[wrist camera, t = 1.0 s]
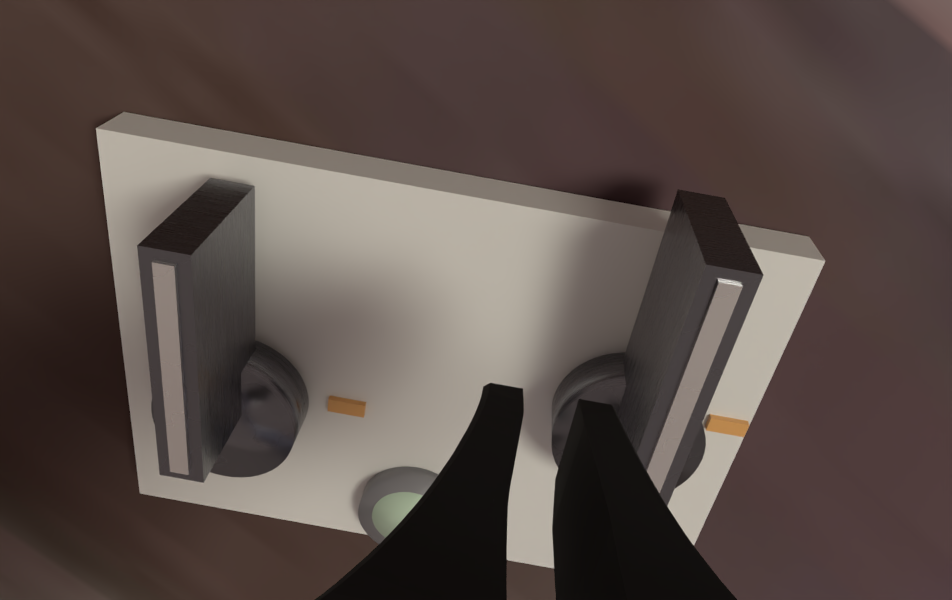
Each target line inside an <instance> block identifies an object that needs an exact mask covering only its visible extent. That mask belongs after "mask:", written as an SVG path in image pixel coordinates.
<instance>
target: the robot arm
mask: <svg viewBox="0 0 952 600" xmlns="http://www.w3.org/2000/svg"><path fill="white" fill-rule="evenodd" d="M523 415H524V398H523V388H517V387H512V386H506V385H501V384H495V383H489V384H487V385H485V386H483V390H482V395H481V399H480V402H479V405H478V407H477V410H476V412H475V414H474V416H473V418H472V420H471V422H470V424H469V427H468V428H467V430H466V432H465V434H464V435H463V437H462V439H461V441H460V442H459V444H458V446H457V447H456V449H455V451H454V453H453V454H452V456H451V457H450V459H449V460H448V462H447V463H446V465H445V466H444V467H443V469H442V470H441V472H440V473H439V475H438V476H437V477H436V479H435V480H434V482H433V483H432V485H431V486H430V487H429V488H428V490H427V491H426V492H425V494H424V495H423V496H422V497H421V499H420V500H419V501H418V502H417V504H416V505H415V506H414V507H413V508H412V509H411V511H410V512H409V513H408V514H407V515H406V516H405V518H404V519H403V520H402V521H401V522H400V523H399V524H398V525H397V526H396V527H395V528H394V529H393V531H392V532H391V533H390V534H389V535H388V536H387V537H386V538H385V539H384V540H383V541H382V542H381V543H380V544H379V545H378V546H377V547H376V548H375V549H374V550H373V551H372V552H371V553H370V554H369V555H368V556H367V557H365V558H364V559H363V560H362V561H361V562H360V563H359V564H357V565H356V566H355V567H354V568H353V569H352V570H351V571H349V572H348V573H347V574H346V575H345V576H344V577H343V578H342V579H340V580H339V581H338V582H337V583H336V584H335V585H333V586H332V587H331V588H330V589H328V590H327V591H326V592H325V593H323V594H322V595H321V596H319V597H318V598H316V599H315V600H507V598H506V564H507V516H508V500H509V492H510V485H511V480H512V475H513V469H514V464H515V458H516V453H517V448H518V442H519V437H520V431H521V426H522V421H523ZM552 536H553V555H554V572H555V589H556V600H737V599H736V598H735V597H734V596H733V594H732V593H731V592H730V591H729V590H728V589H727V587H726V586H725V585H724V584H723V583H722V582H721V580H720V579H719V578H718V577H717V575H716V574H715V573H714V572H713V570H712V569H711V568H710V567H709V565H708V564H707V563H706V561H705V560H704V559H703V558H702V556H701V555H700V554H699V552H698V551H697V550H696V548H695V547H694V545H693V544H692V543H691V541H690V540H689V538H688V537H687V536H686V534H685V533H684V531H683V530H682V528H681V527H680V525H679V524H678V522H677V521H676V519H675V518H674V516H673V514H672V513H671V511H670V510H669V508H668V507H667V505H666V503H665V502H664V500H663V499H662V497H661V495H660V493H659V492H658V490H657V488H656V487H655V485H654V483H653V481H652V480H651V478H650V476H649V475H648V473H647V471H646V469H645V467H644V466H643V464H642V462H641V460H640V458H639V456H638V454H637V452H636V451H635V449H634V447H633V445H632V443H631V441H630V439H629V437H628V435H627V433H626V431H625V429H624V427H623V425H622V423H621V421H620V418H619V416H618V414H617V412H616V410H615V409H614V407H613V406H612V405H611V404H605V403H600V402H594V401H589V400H583V399H579V400H578V403H577V407H576V410H575V413H574V417H573V420H572V424H571V427H570V430H569V434H568V437H567V441H566V444H565V447H564V451H563V454H562V458H561V461H560V464H559V468H558V471H557V475H556V478H555V490H554V505H553V523H552Z"/></svg>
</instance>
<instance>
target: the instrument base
mask: <svg viewBox="0 0 952 600" xmlns="http://www.w3.org/2000/svg"><path fill="white" fill-rule="evenodd" d="M96 133H97V142H98V150H99V158H100V167H101V175H102V183H103V191H104V200H105V208H106V216H107V225H108V233H109V241H110V250H111V258H112V266H113V275H114V283H115V291H116V299H117V308H118V316H119V324H120V333H121V341H122V349H123V358H124V366H125V374H126V383H127V391H128V399H129V408H130V416H131V424H132V432H133V441H134V449H135V457H136V466H137V474H138V482H139V491H140V494H146V495H151V496H157V497H162V498H168V499H173V500H179V501H184V502H190V503H195V504H201V505H206V506H212V507H218V508H223V509H229V510H234V511H240V512H245V513H251V514H256V515H262V516H267V517H273V518H278V519H284V520H289V521H295V522H300V523H306V524H311V525H317V526H322V527H328V528H333V529H339V530H344V531H350V532H356V533H361V534H367V535H369V537H370V538H372V539H373V540H374V541H375V542H377V543H378V544H380V543H381V542H382V541H383V540H384V539H385V538H386V537H387V536H388V535H389V534H390V533H391V532H392V531H393V529H394V528H395V527H396V526H397V525H398V524H399V523H400V522H401V521H402V520H403V519H404V518H405V516H406V515H407V514H408V513H409V512H410V511H411V509H412V508H413V507H414V506H415V505H416V504H417V502H418V501H419V500H420V499H421V497H422V496H423V495H424V494H425V492H426V491H427V490H428V488H429V487H430V486H431V485H432V483H433V482H434V480H435V479H436V477H437V476H438V475H439V473H440V472H441V470H442V469H443V467H444V466H445V465H446V463H447V462H448V460H449V459H450V457H451V456H452V454H453V453H454V451H455V449H456V447H457V446H458V444H459V442H460V441H461V439H462V437H463V435H464V434H465V432H466V430H467V428H468V427H469V424H470V422H471V420H472V418H473V416H474V414H475V412H476V410H477V407H478V405H479V402H480V399H481V395H482V390H483V386H485V385H487V384H489V383H495V384H501V385H506V386H512V387H517V388H523V398H524V415H523V421H522V426H521V431H520V437H519V442H518V448H517V453H516V458H515V464H514V469H513V475H512V480H511V485H510V492H509V500H508V516H507V560H510V561H516V562H521V563H527V564H532V565H538V566H543V567H549V568H554V555H553V536H552V523H553V505H554V490H555V478H556V475H557V471H558V467H557V465H556V463H555V460H554V457H553V454H552V402H553V397H554V395H555V392H556V390H557V388H558V386H559V384H560V383H561V382H562V380H563V379H564V378H565V377H566V376H567V375H568V374H569V373H570V372H571V371H572V370H573V369H575V368H576V367H577V366H579V365H581V364H582V363H584V362H586V361H588V360H591V359H593V358H596V357H599V356H602V355H607V354H612V353H622V352H626V349H627V346H628V343H629V340H630V337H631V333H632V330H633V327H634V324H635V321H636V318H637V315H638V312H639V309H640V306H641V302H642V299H643V296H644V293H645V290H646V287H647V284H648V281H649V278H650V275H651V272H652V268H653V265H654V262H655V259H656V256H657V253H658V250H659V247H660V244H661V241H662V237H663V234H664V231H665V228H666V225H667V222H668V219H669V216H670V213H671V211H665V210H660V209H654V208H649V207H643V206H638V205H632V204H627V203H621V202H616V201H610V200H605V199H599V198H594V197H588V196H583V195H577V194H572V193H566V192H561V191H555V190H550V189H544V188H539V187H533V186H528V185H522V184H517V183H511V182H506V181H500V180H495V179H489V178H484V177H478V176H473V175H467V174H462V173H456V172H451V171H445V170H440V169H434V168H429V167H423V166H418V165H412V164H407V163H401V162H396V161H390V160H385V159H379V158H374V157H368V156H363V155H357V154H352V153H346V152H341V151H335V150H330V149H324V148H319V147H313V146H308V145H302V144H297V143H292V142H286V141H281V140H275V139H270V138H264V137H259V136H253V135H248V134H242V133H237V132H231V131H226V130H220V129H215V128H209V127H204V126H198V125H193V124H187V123H182V122H176V121H171V120H165V119H160V118H154V117H149V116H143V115H138V114H132V113H127V112H123V113H121V114H119V115H118V116H116V117H114V118H113V119H111V120H109V121H108V122H106V123H104V124H102V125H101V126H99V127H97V128H96ZM209 178H215V179H220V180H226V181H231V182H237V183H242V184H248V185H253V186H255V340H256V341H259V342H261V343H263V344H265V345H268V346H269V347H271V348H273V349H274V350H276V351H277V352H279V353H280V354H282V355H283V356H284V357H285V358H286V359H287V360H289V361H290V362H291V364H292V365H293V366H294V367H295V368H296V369H297V371H298V372H299V374H300V375H301V377H302V379H303V381H304V383H305V386H306V388H307V392H308V398H309V406H308V412H307V415H306V418H305V420H304V422H303V424H302V427H301V429H300V431H299V433H298V436H297V438H296V440H295V442H294V444H293V447H292V449H291V451H290V453H289V455H288V457H287V458H286V459H285V460H284V462H283V463H281V464H280V465H279V466H278V467H277V468H275V469H273V470H272V471H269V472H267V473H265V474H262V475H258V476H253V477H228V476H222V475H218V474H214V473H211V472H210V473H209V474H208V476H207V478H206V480H205V481H204V483H202V482H196V481H191V480H185V479H180V478H174V477H169V476H163V475H160V473H159V463H158V453H157V443H156V433H155V424H154V421H153V418H152V413H151V402H152V392H151V382H150V372H149V362H148V352H147V341H146V331H145V321H144V311H143V301H142V291H141V281H140V270H139V260H138V250H137V245H138V244H139V243H140V242H141V241H142V240H144V239H145V238H146V237H147V236H148V235H149V234H150V233H151V232H152V231H153V230H154V229H155V228H156V227H158V226H159V225H160V224H161V223H162V222H163V221H164V220H165V219H166V218H167V217H168V216H169V215H171V214H172V213H173V212H174V211H175V210H176V209H177V208H178V207H179V206H180V205H181V204H182V203H184V202H185V201H186V200H187V199H188V198H189V197H190V196H191V195H192V194H193V193H194V192H195V191H197V190H198V189H199V188H200V187H201V186H202V185H203V184H204V183H205V182H206V181H207V180H208V179H209ZM738 225H739V227H740V229H741V231H742V233H743V235H744V237H745V239H746V241H747V243H748V245H749V247H750V249H751V251H752V253H753V255H754V257H755V259H756V261H757V263H758V265H759V267H760V269H761V271H762V273H763V278H762V280H761V283H760V285H759V287H758V290H757V292H756V295H755V297H754V299H753V302H752V304H751V307H750V309H749V311H748V314H747V316H746V319H745V321H744V323H743V326H742V328H741V331H740V333H739V335H738V338H737V340H736V343H735V345H734V347H733V350H732V352H731V355H730V357H729V359H728V362H727V364H726V367H725V369H724V371H723V374H722V376H721V379H720V381H719V383H718V386H717V388H716V391H715V393H714V395H713V398H712V400H711V403H710V405H709V407H708V410H707V412H706V415H705V417H704V419H703V422H702V424H703V427H704V432H705V437H706V447H705V453H704V456H703V459H702V461H701V463H700V465H699V467H698V468H697V469H696V471H695V472H694V473H693V474H692V475H691V477H690V478H689V479H688V480H686V481H685V482H684V483H683V484H681V485H680V486H678V487H677V488H675V489H674V491H673V494H672V496H671V499H670V501H669V503H668V506H667V507H668V508H669V510H670V511H671V513H672V514H673V516H674V518H675V519H676V521H677V522H678V524H679V525H680V527H681V528H682V530H683V531H684V533H685V534H686V536H687V537H688V538H689V540H690V541H691V543H692V544H693V545H694V544H695V542H696V540H697V538H698V535H699V533H700V531H701V529H702V527H703V525H704V522H705V520H706V518H707V516H708V514H709V512H710V509H711V507H712V505H713V503H714V501H715V499H716V497H717V494H718V492H719V490H720V488H721V486H722V484H723V481H724V479H725V477H726V475H727V473H728V471H729V468H730V466H731V464H732V462H733V460H734V458H735V455H736V453H737V451H738V449H739V447H740V445H741V442H742V440H743V438H744V436H745V434H746V432H747V429H748V427H749V425H750V423H751V421H752V419H753V416H754V414H755V412H756V410H757V408H758V406H759V403H760V401H761V399H762V397H763V395H764V393H765V391H766V388H767V386H768V384H769V382H770V380H771V378H772V375H773V373H774V371H775V369H776V367H777V365H778V362H779V360H780V358H781V356H782V354H783V352H784V349H785V347H786V345H787V343H788V341H789V339H790V336H791V334H792V332H793V330H794V328H795V326H796V323H797V321H798V319H799V317H800V315H801V313H802V310H803V308H804V306H805V304H806V302H807V300H808V298H809V295H810V293H811V291H812V289H813V287H814V285H815V282H816V280H817V278H818V276H819V274H820V272H821V269H822V267H823V265H824V263H825V260H824V258H823V257H822V255H821V254H820V252H819V251H818V249H817V248H816V246H815V245H814V243H813V242H812V241H811V239H810V238H809V237H808V236H802V235H797V234H791V233H786V232H780V231H775V230H769V229H764V228H758V227H753V226H747V225H742V224H738Z"/></svg>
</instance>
